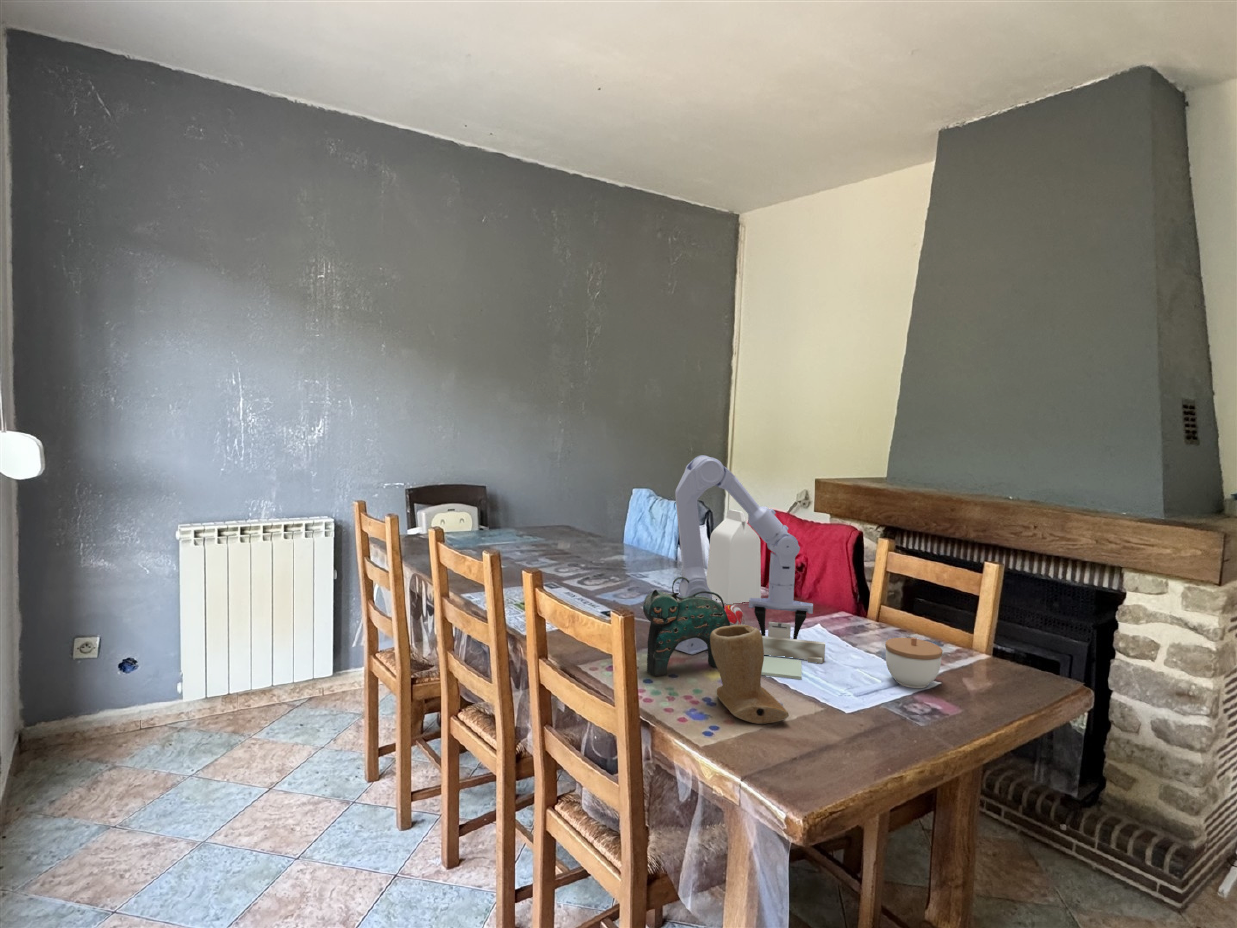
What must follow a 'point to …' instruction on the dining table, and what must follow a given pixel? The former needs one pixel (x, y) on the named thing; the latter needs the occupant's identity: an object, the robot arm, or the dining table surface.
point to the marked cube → (779, 630)
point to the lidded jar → (913, 661)
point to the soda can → (734, 615)
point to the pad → (781, 667)
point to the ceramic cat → (679, 624)
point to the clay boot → (743, 674)
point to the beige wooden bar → (794, 648)
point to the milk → (734, 560)
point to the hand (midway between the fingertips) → (778, 640)
